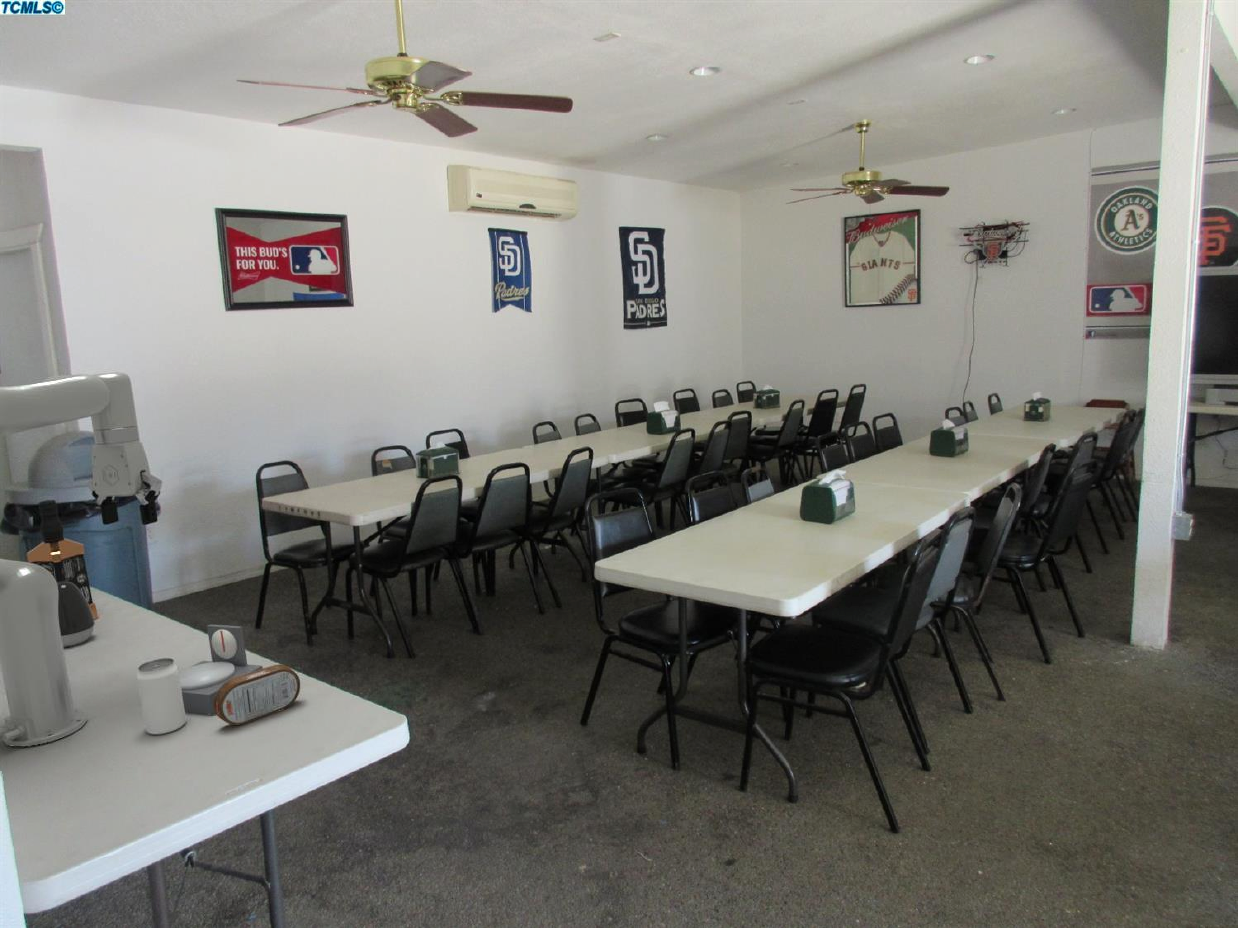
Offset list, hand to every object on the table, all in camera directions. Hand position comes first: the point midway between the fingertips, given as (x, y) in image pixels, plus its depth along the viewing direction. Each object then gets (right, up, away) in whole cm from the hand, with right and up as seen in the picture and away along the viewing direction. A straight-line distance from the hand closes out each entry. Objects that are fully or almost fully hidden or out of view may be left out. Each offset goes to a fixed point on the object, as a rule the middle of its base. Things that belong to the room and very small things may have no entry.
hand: (130, 523), depth 169 cm
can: (+15, -36, -14) cm, 41 cm away
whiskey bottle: (-44, -29, +50) cm, 73 cm away
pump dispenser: (-34, -31, +35) cm, 58 cm away
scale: (+16, -34, -2) cm, 37 cm away
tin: (+31, -35, -12) cm, 48 cm away
